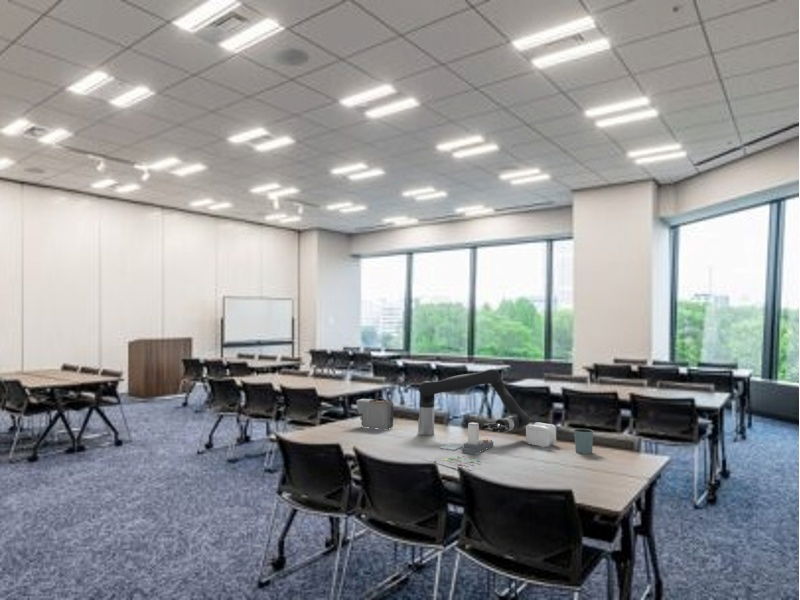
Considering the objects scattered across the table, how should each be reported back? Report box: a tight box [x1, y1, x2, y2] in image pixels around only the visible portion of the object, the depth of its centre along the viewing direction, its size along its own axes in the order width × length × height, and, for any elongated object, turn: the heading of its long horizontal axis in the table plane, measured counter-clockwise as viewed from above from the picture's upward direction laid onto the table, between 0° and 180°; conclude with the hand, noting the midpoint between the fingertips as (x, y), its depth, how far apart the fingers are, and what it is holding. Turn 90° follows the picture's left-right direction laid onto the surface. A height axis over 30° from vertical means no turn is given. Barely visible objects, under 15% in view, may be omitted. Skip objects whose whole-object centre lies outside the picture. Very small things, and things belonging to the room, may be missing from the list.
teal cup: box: [573, 428, 594, 455], centre depth 298 cm, size 10×10×12 cm
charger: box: [467, 422, 480, 445], centre depth 300 cm, size 4×4×13 cm
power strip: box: [461, 438, 494, 455], centre depth 307 cm, size 8×30×4 cm, turn 147°
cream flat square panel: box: [445, 455, 485, 467], centre depth 279 cm, size 30×30×2 cm
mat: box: [439, 443, 463, 451], centre depth 307 cm, size 9×9×1 cm
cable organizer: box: [525, 421, 557, 448], centre depth 315 cm, size 15×11×12 cm
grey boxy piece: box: [356, 384, 394, 430], centre depth 364 cm, size 12×24×30 cm, turn 67°
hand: (486, 428), depth 307 cm, fingers open, 8 cm apart
